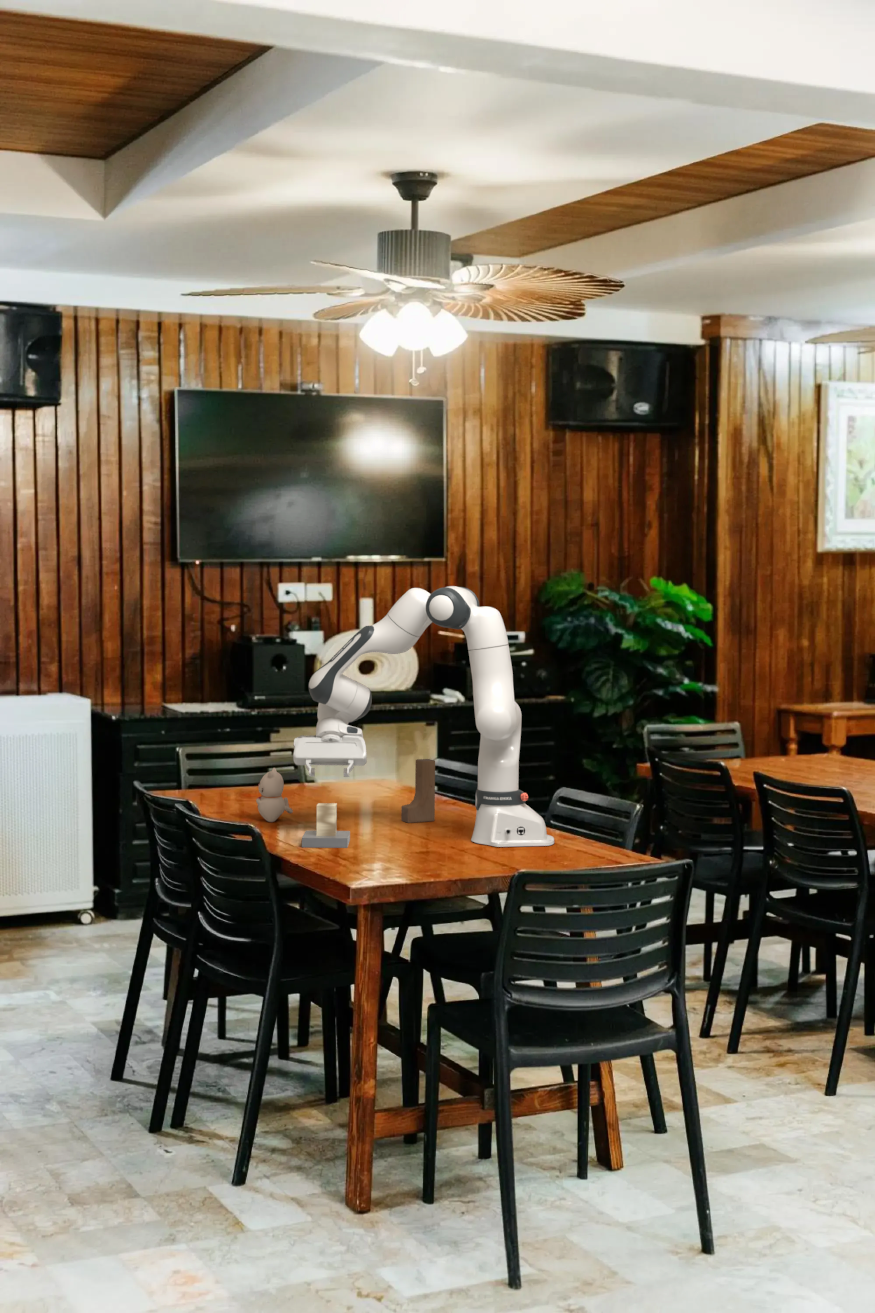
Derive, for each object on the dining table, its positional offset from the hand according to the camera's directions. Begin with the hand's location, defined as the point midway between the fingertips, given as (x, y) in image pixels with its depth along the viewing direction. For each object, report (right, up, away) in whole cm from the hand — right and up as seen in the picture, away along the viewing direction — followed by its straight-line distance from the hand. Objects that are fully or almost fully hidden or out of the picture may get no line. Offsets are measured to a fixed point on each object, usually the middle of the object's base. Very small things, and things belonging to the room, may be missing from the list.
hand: (329, 775), depth 417 cm
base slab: (0, -18, -8) cm, 19 cm away
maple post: (0, -15, -8) cm, 17 cm away
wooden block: (+24, -16, +32) cm, 43 cm away
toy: (-18, -16, +32) cm, 40 cm away
